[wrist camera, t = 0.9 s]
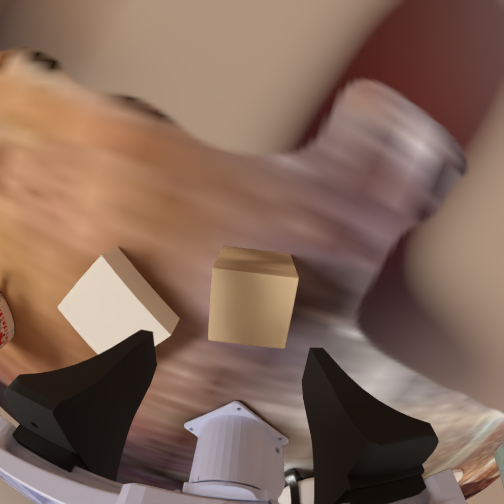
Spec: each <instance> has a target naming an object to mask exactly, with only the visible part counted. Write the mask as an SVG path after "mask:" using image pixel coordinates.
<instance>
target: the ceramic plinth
mask: <svg viewBox="0 0 504 504" xmlns="http://www.w3.org/2000/svg"><path fill="white" fill-rule="evenodd" d="M58 309H59V310H60V311H61V313H62V314H63V315H64V316H65V318H66V319H67V320H68V321H69V322H70V324H71V325H72V326H73V327H74V328H75V330H76V331H77V332H78V333H79V334H80V335H81V336H82V338H83V339H84V340H85V341H86V342H87V343H88V344H89V345H90V346H91V348H92V349H93V350H94V351H95V352H96V353H97V354H100V353H102V352H104V351H106V350H108V349H110V348H111V347H113V346H115V345H116V344H118V343H120V342H121V341H123V340H125V339H126V338H128V337H129V336H131V335H133V334H134V333H136V332H137V331H139V330H141V329H142V330H147V331H153V336H154V346H156V345H158V344H159V343H161V342H162V341H164V340H165V339H166V338H168V337H169V336H171V335H172V333H173V331H174V329H175V327H176V325H177V323H178V321H179V320H180V318H179V317H178V316H177V315H176V314H175V313H174V312H173V311H172V309H171V308H170V307H169V306H168V305H167V304H166V303H165V302H164V301H163V300H162V298H161V297H160V296H159V295H158V294H157V293H156V292H155V291H154V289H153V288H152V287H151V286H150V285H149V284H148V283H147V281H146V280H145V279H144V278H143V277H142V276H141V274H140V273H139V272H138V271H137V270H136V268H135V267H134V266H133V265H132V264H131V262H130V261H129V260H128V259H127V257H126V256H125V255H124V254H123V253H122V251H121V250H120V249H119V247H118V246H116V247H115V248H113V249H111V250H109V251H108V252H106V253H104V254H102V255H101V256H100V257H99V258H98V259H97V261H96V262H95V263H94V264H93V265H92V266H91V267H90V268H89V270H88V271H87V272H86V273H85V274H84V275H83V276H82V278H81V279H80V280H79V281H78V282H77V284H76V285H75V286H74V287H73V288H72V290H71V291H70V292H69V293H68V294H67V296H66V297H65V298H64V299H63V301H62V302H61V303H60V304H59V306H58Z"/></svg>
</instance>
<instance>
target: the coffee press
mask: <svg viewBox="0 0 504 504" xmlns="http://www.w3.org/2000/svg"><path fill="white" fill-rule="evenodd" d="M284 476H285V478H286V480H287V482H288V484H289V486H287V487H286V488H284V489H283V492H282V494H281V495H280V497H279V498H278V499H277V501H278V502H279V503H280V504H314V477H312V478H308V479H303V478H302V477H301V476H300V474H299V473H298V471H297V470H296V469H294V468H293V469H291V470H288V471H286V472H284Z"/></svg>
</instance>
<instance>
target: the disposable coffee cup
mask: <svg viewBox="0 0 504 504" xmlns="http://www.w3.org/2000/svg"><path fill="white" fill-rule="evenodd" d="M494 454H495V460H496V463H497V466H498V469H499V472H500V476H501V479H502V483H503V487H504V443H503V444H502V445H501V446H500V447H499V448H498V449H497V450H496V451H495V453H494Z"/></svg>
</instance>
